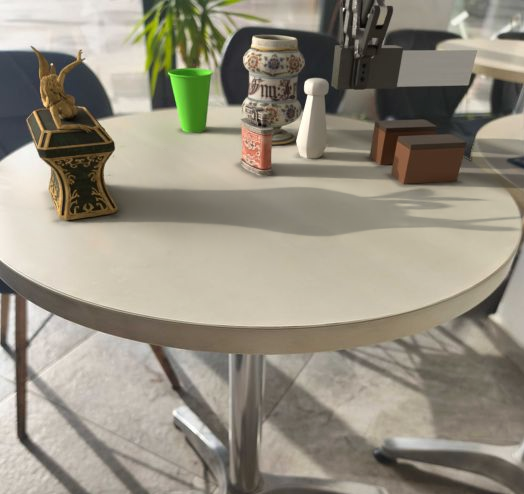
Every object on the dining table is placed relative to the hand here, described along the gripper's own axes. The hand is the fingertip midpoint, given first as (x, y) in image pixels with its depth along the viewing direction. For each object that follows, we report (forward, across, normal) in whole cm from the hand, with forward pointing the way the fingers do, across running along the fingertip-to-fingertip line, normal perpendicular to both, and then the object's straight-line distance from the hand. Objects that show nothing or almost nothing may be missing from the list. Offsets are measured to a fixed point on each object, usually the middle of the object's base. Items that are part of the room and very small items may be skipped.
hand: (354, 86), depth 71 cm
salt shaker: (+15, +19, 0) cm, 25 cm away
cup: (+15, +40, +20) cm, 47 cm away
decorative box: (+16, +3, +41) cm, 44 cm away
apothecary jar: (+15, +31, +5) cm, 35 cm away
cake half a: (+15, +4, -17) cm, 23 cm away
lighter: (+15, +13, +12) cm, 23 cm away
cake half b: (+15, +14, -17) cm, 27 cm away
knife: (0, 0, -8) cm, 8 cm away
